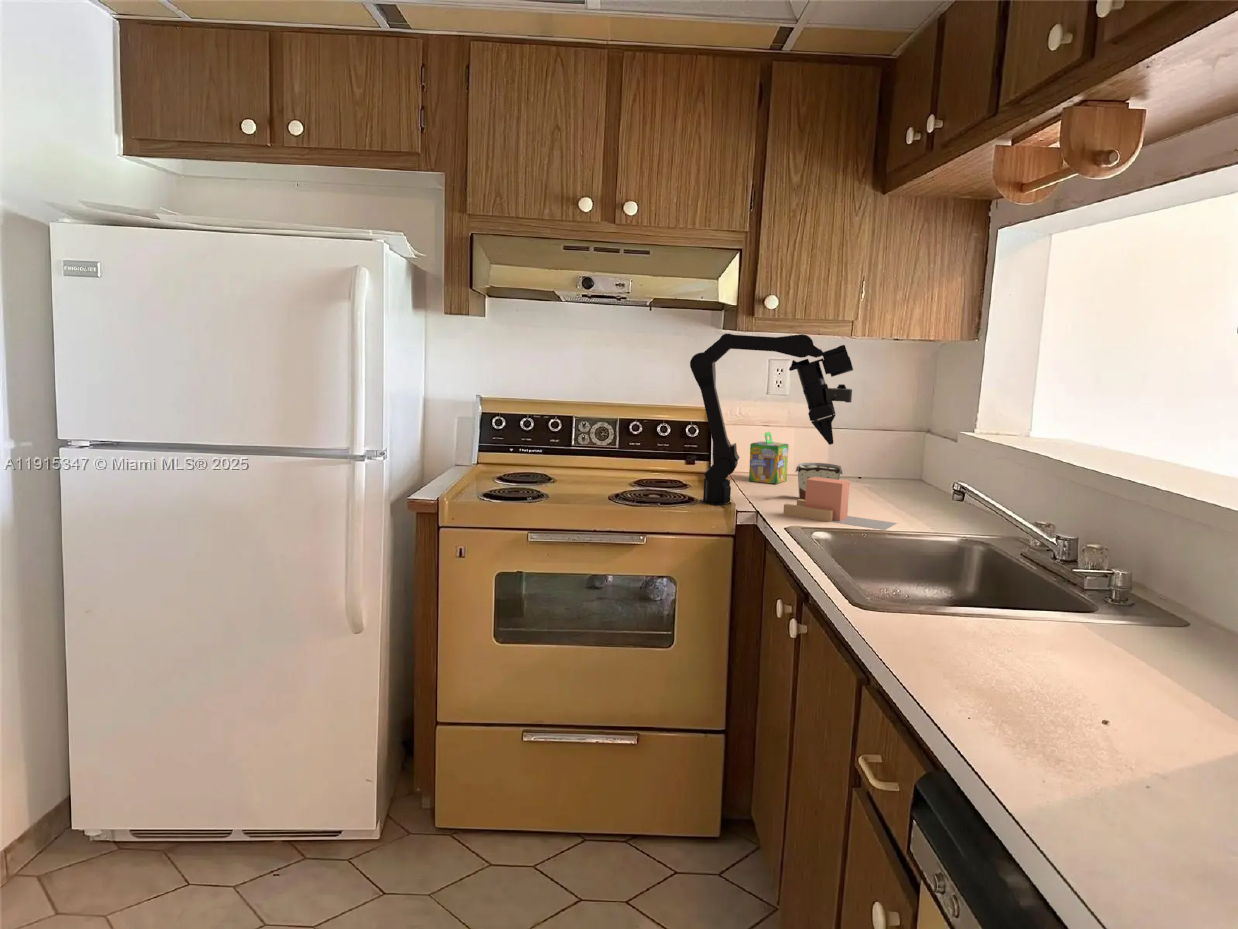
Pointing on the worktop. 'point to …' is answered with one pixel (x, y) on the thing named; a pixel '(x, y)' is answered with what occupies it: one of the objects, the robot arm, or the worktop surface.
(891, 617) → the worktop surface
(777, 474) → the chalk box
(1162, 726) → the worktop surface
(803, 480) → the food container
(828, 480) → the block
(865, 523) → the chute
